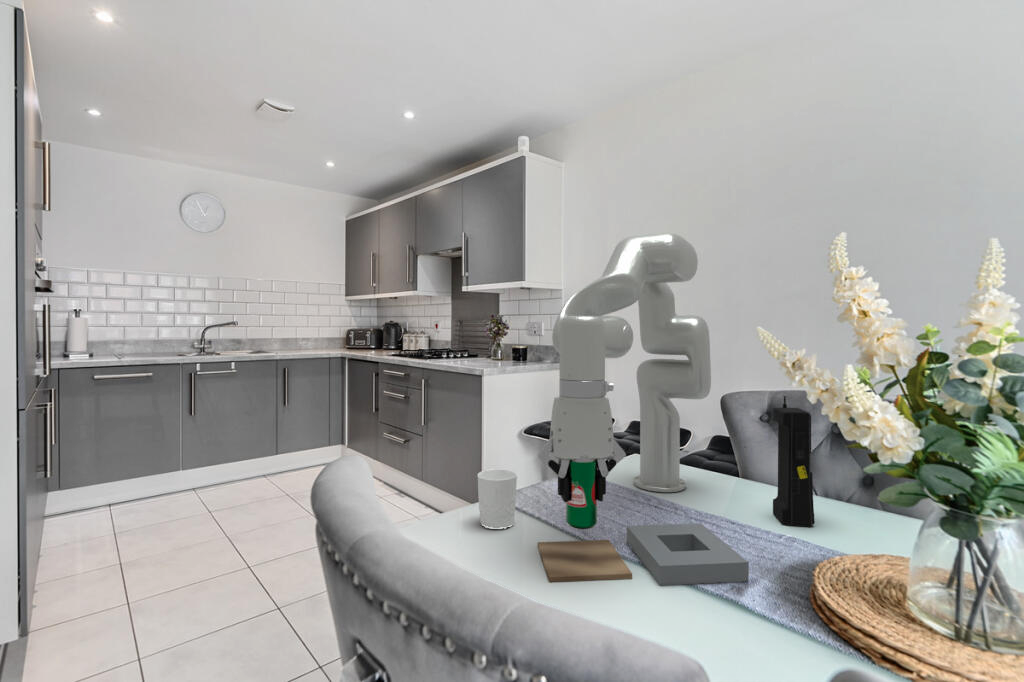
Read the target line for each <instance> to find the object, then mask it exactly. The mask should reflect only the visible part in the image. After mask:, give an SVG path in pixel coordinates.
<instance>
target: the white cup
mask: <svg viewBox="0 0 1024 682" xmlns="http://www.w3.org/2000/svg"><path fill="white" fill-rule="evenodd" d="M517 481H518V474H517V472H515V471H513V470H510V469H502V468H501V469H500V468H494V469H493V468H492V469H487V470H482V471H479V472H478V473H477V493H478V495H477V496H478V497H477V499H478V510H479V523H480V522H481V524H483V525H485V526H488V527H493V528H500V527H507V526H510V525H512V524H513V523H514V524H515V514H516V513H515V512H516V502H517V485H518V483H517ZM481 524H480V525H481ZM514 524H513V525H514Z"/></svg>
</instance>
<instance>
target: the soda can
mask: <svg viewBox="0 0 1024 682" xmlns="http://www.w3.org/2000/svg"><path fill="white" fill-rule="evenodd" d="M566 473H567V477H568V479H569V501H568V502H565V503H566V507H565V509H566V514H565V516H566V519H565V522H566V523H567V524H568V525H569V526H570V527H571V528H573V529H577V530H589V529H592V528H594V527H595V526H596V525H597V522H598V500H597V460H594V459H591V458H589V456H580V458H579V459H575V460H570V462H569V465H568V469H567V472H566Z"/></svg>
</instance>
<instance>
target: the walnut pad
mask: <svg viewBox="0 0 1024 682" xmlns="http://www.w3.org/2000/svg"><path fill="white" fill-rule="evenodd" d="M537 549H539V550H538V552H540V553H539V556H540V555H541V556H540V559H541V562H542V563H543V567H544V571H545V574H546V577H547V580H548V582H549V583H561V582H562V583H565V582H567V583H568V582H585V581H587V582H588V581H608V580H609V581H610V580H632V579H633V573H632V571H631V570H630V568H629V567H628V565H627V564H626V563H625V561H624V560H623V558H622V556H621V555H620V554H619V552H618V550H616V548H615V547H614V545H613V544H612V542H611V541H610V539H593V540H592V539H591V540H569V541H567V540H566V541H565V540H563V541H561V540H560V541H537Z"/></svg>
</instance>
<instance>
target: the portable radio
mask: <svg viewBox="0 0 1024 682" xmlns="http://www.w3.org/2000/svg"><path fill="white" fill-rule="evenodd" d="M786 397H787V395H783V403H782V407H774V408H773V421H774V422H776V423H777V425H778V427H777V428H778V429H777V435H778V436H777V437H778V438H777V496H776V498H772V514H773V516H774V517H775V518H776V519H777V520H778V521H779V523H780V524H781V525H786V526H793V527H804V528H805V527H808V528H811V527H813V525H815V522H816V521H815V510H814V506H815V505H814V489H813V488H814V487H813V485H814V484H813V472H811V454H812V415H811V413H810V412H809V411H806V410H804V409H801V408H799V407H788V405H787V403H786V401H787V400H786Z"/></svg>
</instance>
